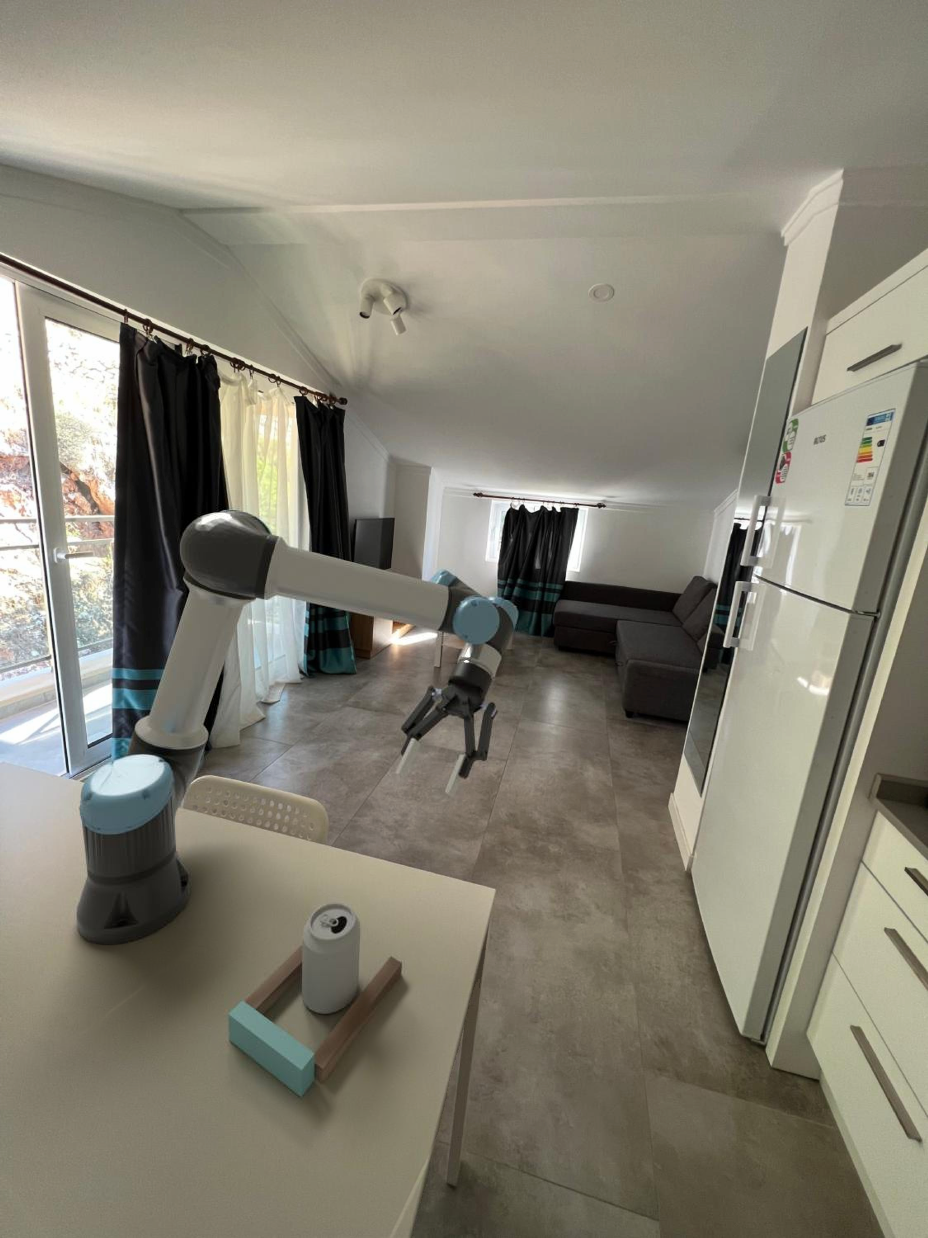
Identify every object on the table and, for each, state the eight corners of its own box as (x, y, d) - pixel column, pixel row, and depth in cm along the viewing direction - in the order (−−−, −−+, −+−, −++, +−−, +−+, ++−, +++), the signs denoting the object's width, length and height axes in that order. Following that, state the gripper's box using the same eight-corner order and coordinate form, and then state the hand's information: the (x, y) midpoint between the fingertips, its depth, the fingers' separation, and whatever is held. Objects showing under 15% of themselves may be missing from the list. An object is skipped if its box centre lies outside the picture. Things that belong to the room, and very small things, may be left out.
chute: (239, 1021, 64) (239, 1006, 63) (327, 932, 78) (327, 920, 77) (322, 1085, 58) (322, 1069, 57) (401, 976, 72) (402, 963, 71)
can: (343, 1026, 64) (346, 949, 62) (290, 1010, 66) (291, 935, 63) (366, 974, 71) (369, 904, 69) (318, 961, 73) (319, 892, 70)
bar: (229, 1040, 61) (228, 1014, 60) (242, 1025, 63) (242, 1000, 62) (301, 1097, 56) (301, 1070, 55) (314, 1080, 58) (314, 1053, 57)
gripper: (532, 694, 91) (488, 813, 81) (431, 668, 101) (380, 772, 91) (525, 674, 86) (476, 800, 75) (419, 648, 95) (362, 757, 85)
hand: (423, 785), depth 83 cm, fingers open, 9 cm apart
